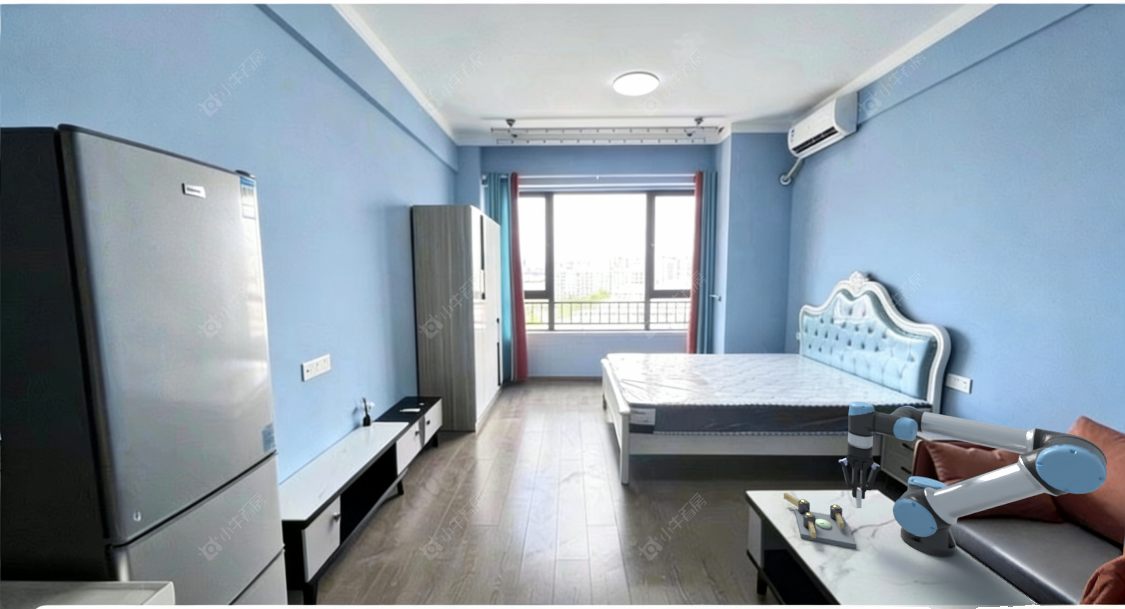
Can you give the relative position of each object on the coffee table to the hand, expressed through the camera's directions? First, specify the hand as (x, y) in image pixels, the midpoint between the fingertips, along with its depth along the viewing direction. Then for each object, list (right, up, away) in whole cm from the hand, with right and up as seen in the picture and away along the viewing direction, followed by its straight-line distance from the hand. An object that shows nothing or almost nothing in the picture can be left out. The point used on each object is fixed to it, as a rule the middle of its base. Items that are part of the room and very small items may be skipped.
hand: (857, 506), depth 156 cm
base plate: (-11, -11, +4) cm, 16 cm away
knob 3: (-4, -9, +5) cm, 11 cm away
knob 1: (-14, -8, +16) cm, 23 cm away
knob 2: (-18, -9, 0) cm, 20 cm away
